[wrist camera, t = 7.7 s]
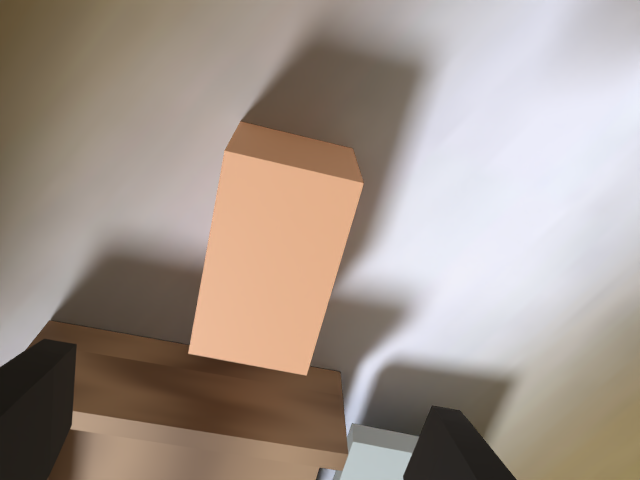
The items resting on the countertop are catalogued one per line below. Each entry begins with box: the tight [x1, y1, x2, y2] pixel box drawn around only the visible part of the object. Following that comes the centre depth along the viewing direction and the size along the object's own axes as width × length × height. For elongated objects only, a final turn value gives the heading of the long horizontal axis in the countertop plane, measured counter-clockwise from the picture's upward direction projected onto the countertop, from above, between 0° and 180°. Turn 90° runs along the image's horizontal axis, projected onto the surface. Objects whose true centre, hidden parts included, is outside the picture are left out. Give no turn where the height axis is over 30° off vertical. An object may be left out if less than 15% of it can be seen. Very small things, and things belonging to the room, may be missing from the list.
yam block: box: [188, 121, 364, 376], centre depth 18 cm, size 4×7×4 cm, turn 166°
